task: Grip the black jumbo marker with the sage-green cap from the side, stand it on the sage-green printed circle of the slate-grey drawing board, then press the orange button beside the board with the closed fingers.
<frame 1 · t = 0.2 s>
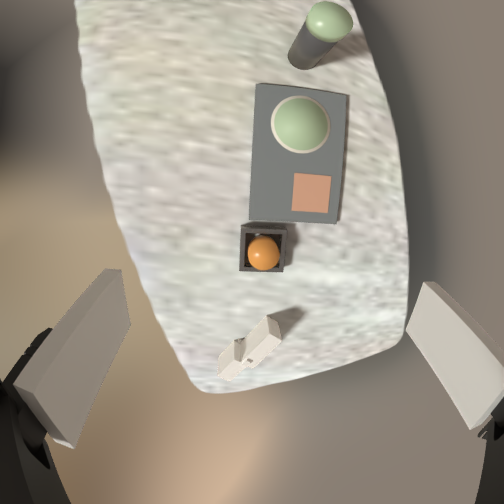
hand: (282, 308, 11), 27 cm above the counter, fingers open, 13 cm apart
button housing: (261, 247, 39), on the counter
white block piece: (242, 337, 45), on the counter
drawing board: (298, 154, 35), on the counter
done button: (263, 252, 37), point 2 cm above the counter, slide at 0.0 cm
marker: (302, 57, 30), on the counter
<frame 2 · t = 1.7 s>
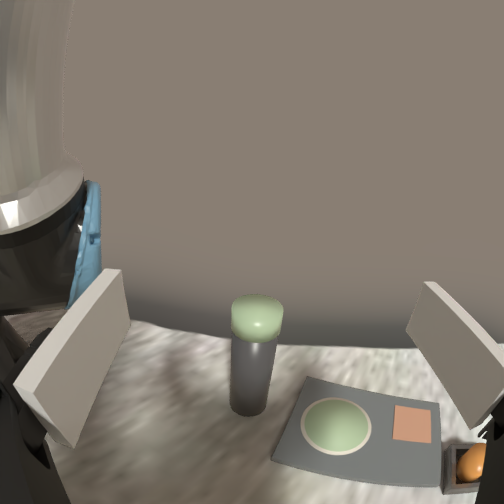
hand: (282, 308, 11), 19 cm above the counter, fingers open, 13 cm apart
button housing: (464, 471, 15), on the counter
drawing board: (369, 435, 23), on the counter
done button: (475, 462, 14), point 2 cm above the counter, slide at 0.0 cm
marker: (247, 402, 27), on the counter
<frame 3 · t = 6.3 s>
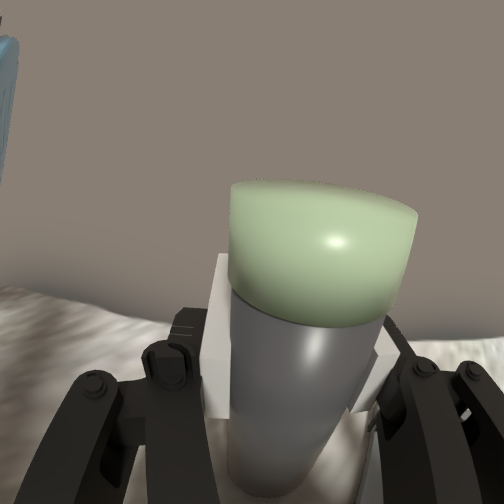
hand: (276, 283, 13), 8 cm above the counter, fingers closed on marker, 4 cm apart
drawing board: (487, 487, 6), on the counter
marker: (267, 465, 11), on the counter, touching gripper
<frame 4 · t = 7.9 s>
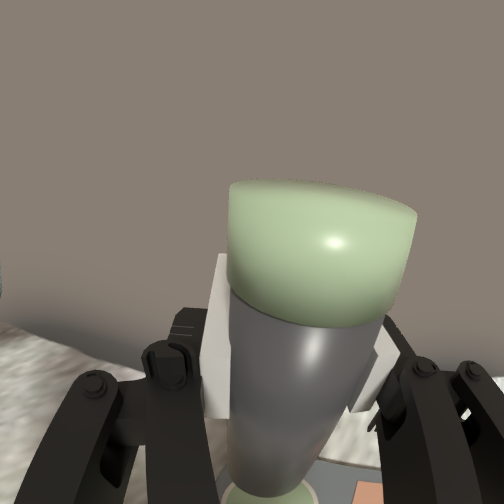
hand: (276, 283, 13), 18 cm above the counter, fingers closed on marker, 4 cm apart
marker: (267, 465, 11), point 11 cm above the counter, touching gripper
when the fingers open (9 cm above the counter, at t = 9.9 s): marker stays where it is, resting on drawing board.
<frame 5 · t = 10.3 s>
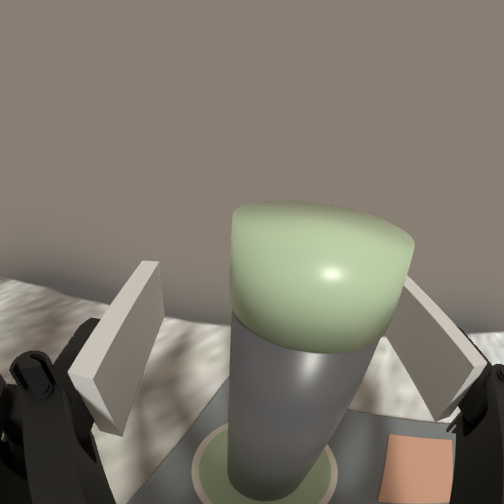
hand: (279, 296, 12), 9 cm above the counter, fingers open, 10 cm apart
drawing board: (332, 492, 10), on the counter
marker: (265, 470, 11), point 1 cm above the counter, touching drawing board
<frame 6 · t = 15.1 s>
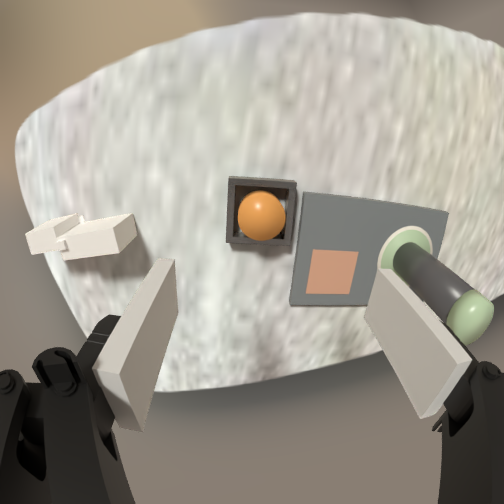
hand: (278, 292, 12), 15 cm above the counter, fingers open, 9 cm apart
button housing: (259, 209, 26), on the counter
white block piece: (88, 220, 27), on the counter
drawing board: (374, 254, 29), on the counter
done button: (260, 214, 24), point 2 cm above the counter, slide at 0.0 cm
marker: (407, 258, 28), point 1 cm above the counter, touching drawing board
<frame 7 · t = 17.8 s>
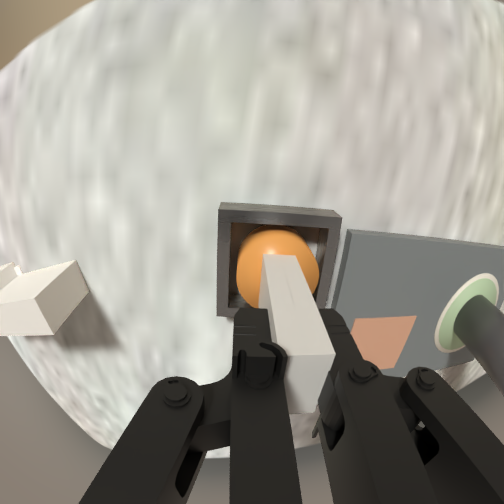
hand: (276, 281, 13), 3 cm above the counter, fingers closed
button housing: (273, 258, 16), on the counter
white block piece: (28, 270, 16), on the counter
drawing board: (432, 313, 18), on the counter
done button: (275, 267, 14), point 1 cm above the counter, slide at 0.9 cm, touching gripper
marker: (470, 315, 17), point 1 cm above the counter, touching drawing board
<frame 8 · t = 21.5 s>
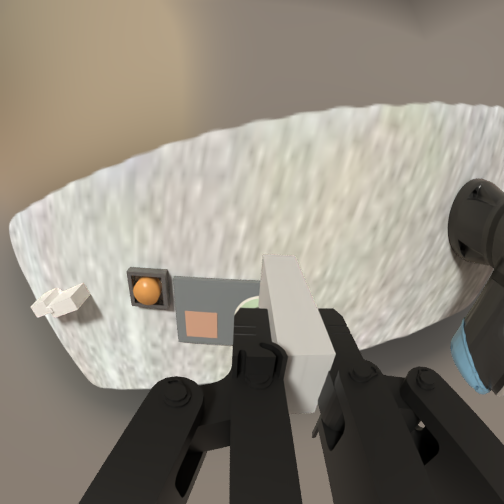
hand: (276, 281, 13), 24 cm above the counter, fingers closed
button housing: (150, 285, 41), on the counter
white block piece: (64, 290, 41), on the counter
drawing board: (233, 313, 43), on the counter
done button: (148, 289, 39), point 1 cm above the counter, slide at 0.9 cm
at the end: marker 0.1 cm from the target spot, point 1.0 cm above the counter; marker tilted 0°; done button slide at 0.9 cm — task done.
